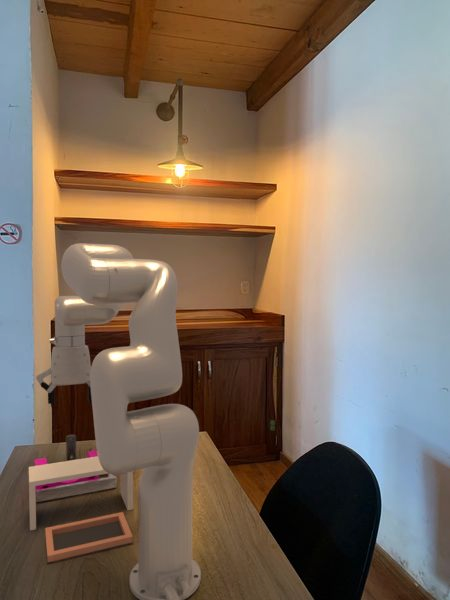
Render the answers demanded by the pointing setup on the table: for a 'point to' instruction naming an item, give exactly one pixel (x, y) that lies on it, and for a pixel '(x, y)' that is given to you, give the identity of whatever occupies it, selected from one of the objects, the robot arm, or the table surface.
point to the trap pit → (87, 537)
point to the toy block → (44, 461)
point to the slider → (75, 487)
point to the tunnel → (70, 472)
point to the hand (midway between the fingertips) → (71, 403)
